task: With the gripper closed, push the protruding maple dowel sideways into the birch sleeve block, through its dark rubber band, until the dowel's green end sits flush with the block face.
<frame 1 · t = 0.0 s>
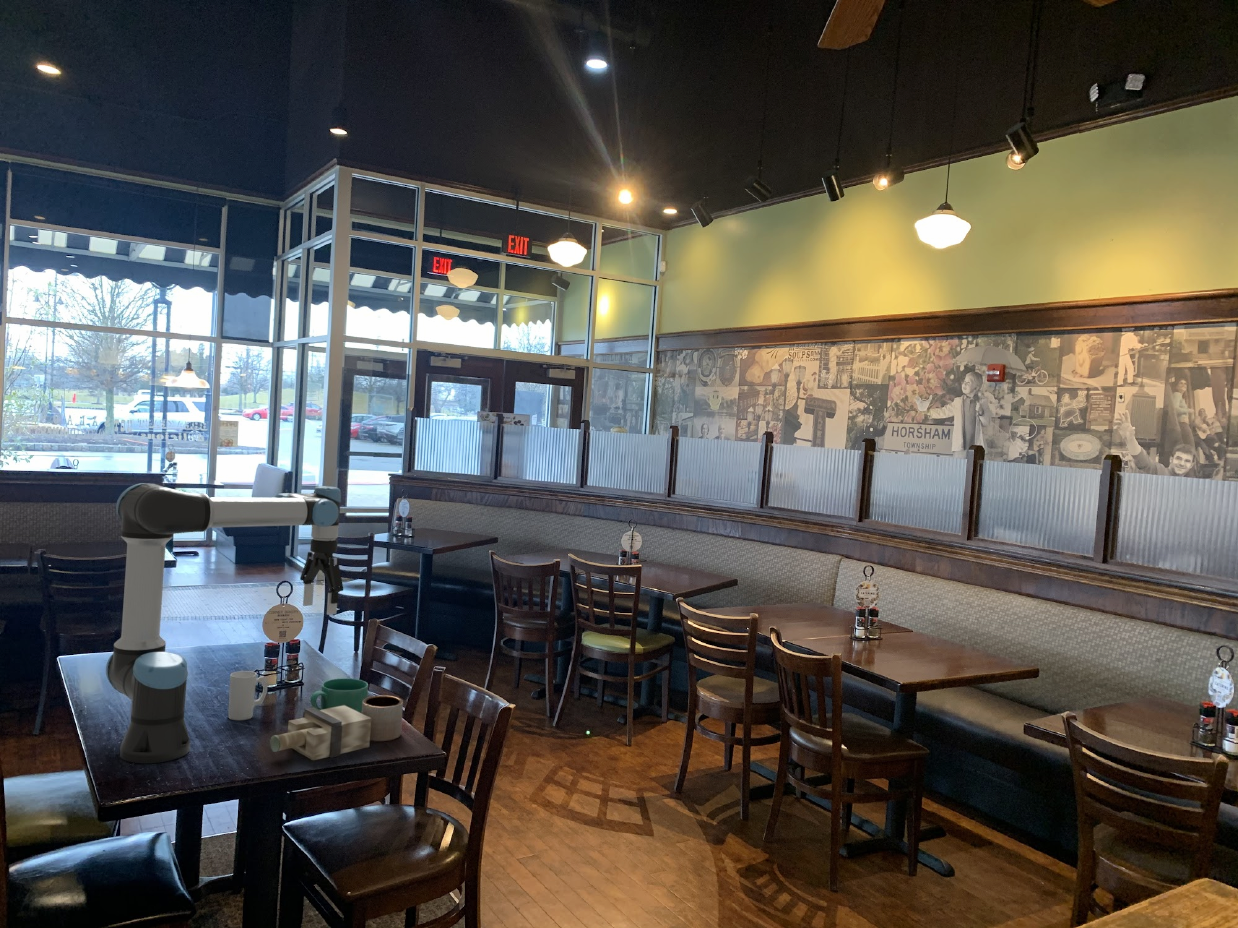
hand: (319, 609, 258), 28 cm above the table, fingers open, 13 cm apart
mug 2: (336, 718, 248), on the table
planter: (380, 736, 237), on the table
mug: (246, 716, 243), on the table
sleeve block: (328, 745, 226), on the table
dowel: (300, 737, 220), point 4 cm above the table, slide at 0.0 cm
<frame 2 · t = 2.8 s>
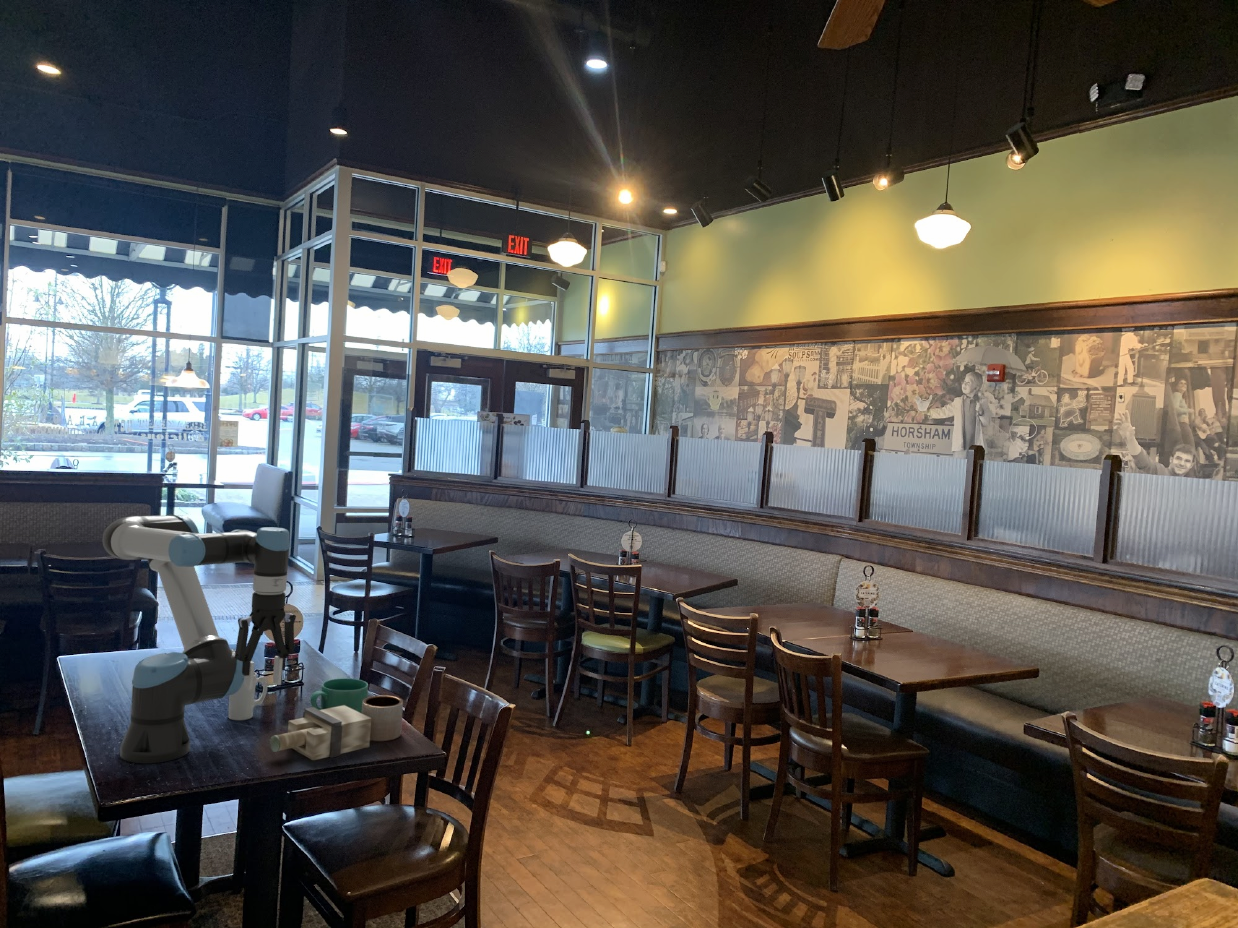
hand: (262, 685, 211), 19 cm above the table, fingers open, 6 cm apart
nothing on the table moved.
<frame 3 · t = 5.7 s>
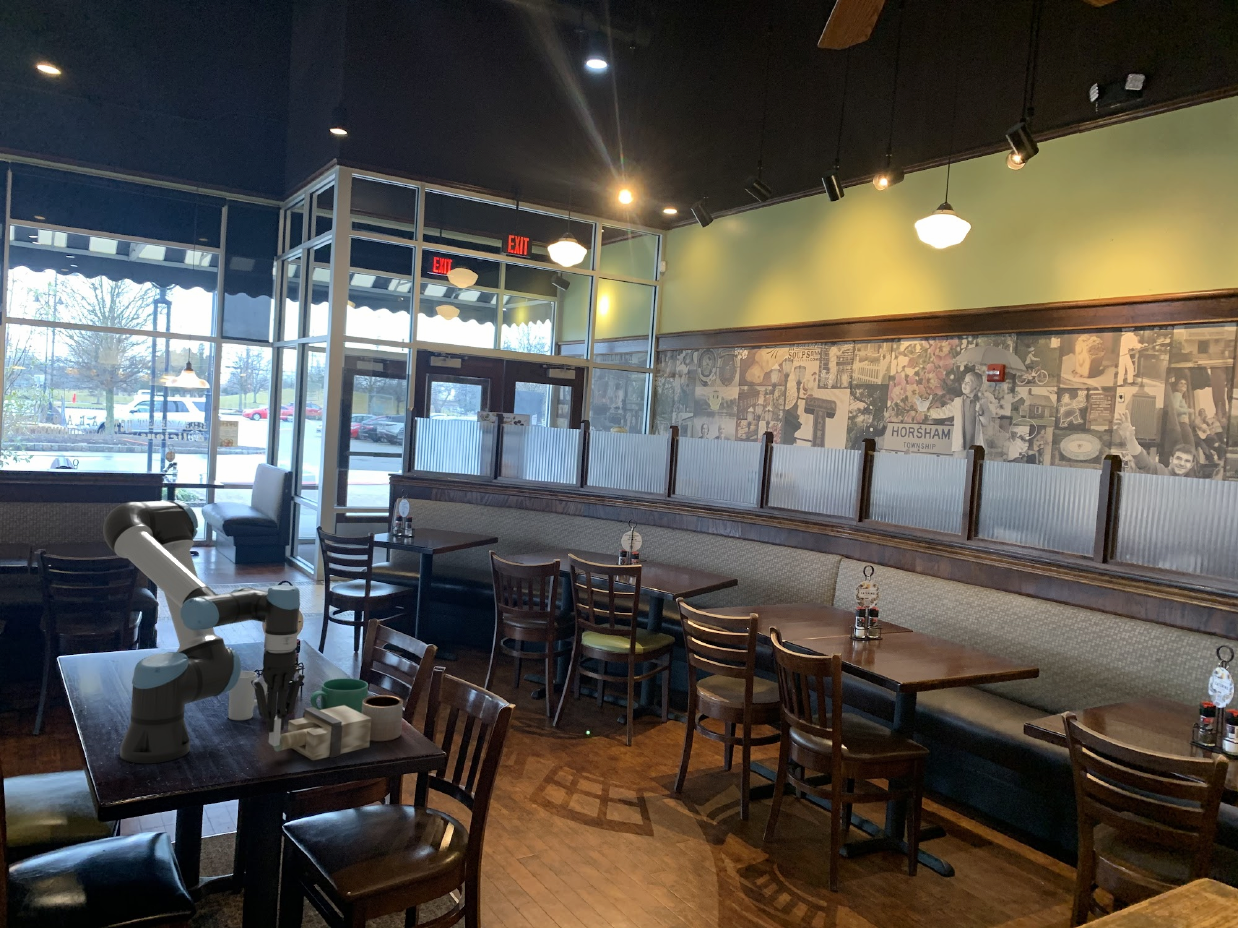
hand: (274, 743, 214), 4 cm above the table, fingers closed
dowel: (302, 737, 220), point 4 cm above the table, slide at 0.6 cm, touching gripper
everything else where it was.
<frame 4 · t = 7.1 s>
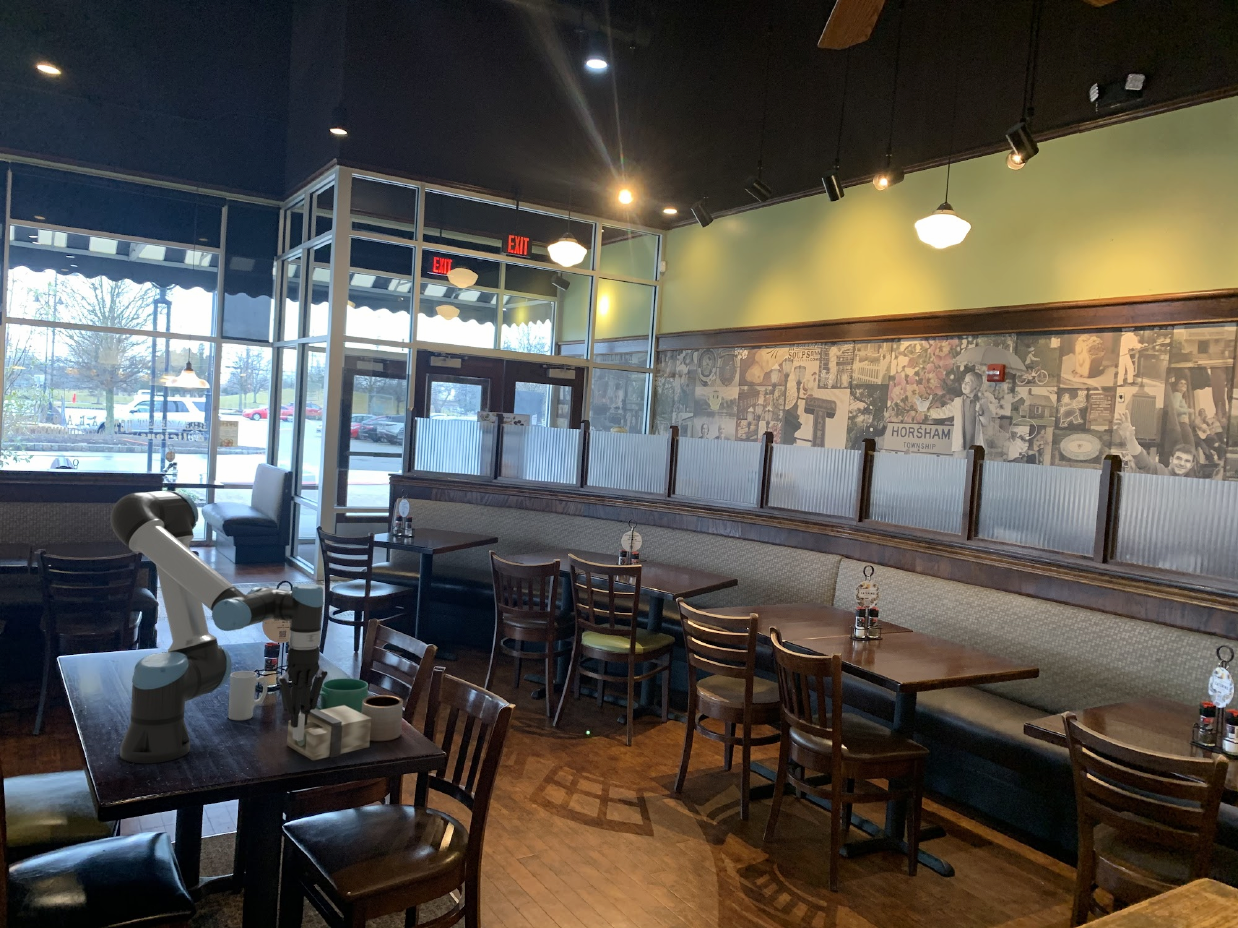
hand: (297, 738, 219), 4 cm above the table, fingers closed
dowel: (325, 732, 225), point 4 cm above the table, slide at 7.0 cm, touching gripper
everything else where it was.
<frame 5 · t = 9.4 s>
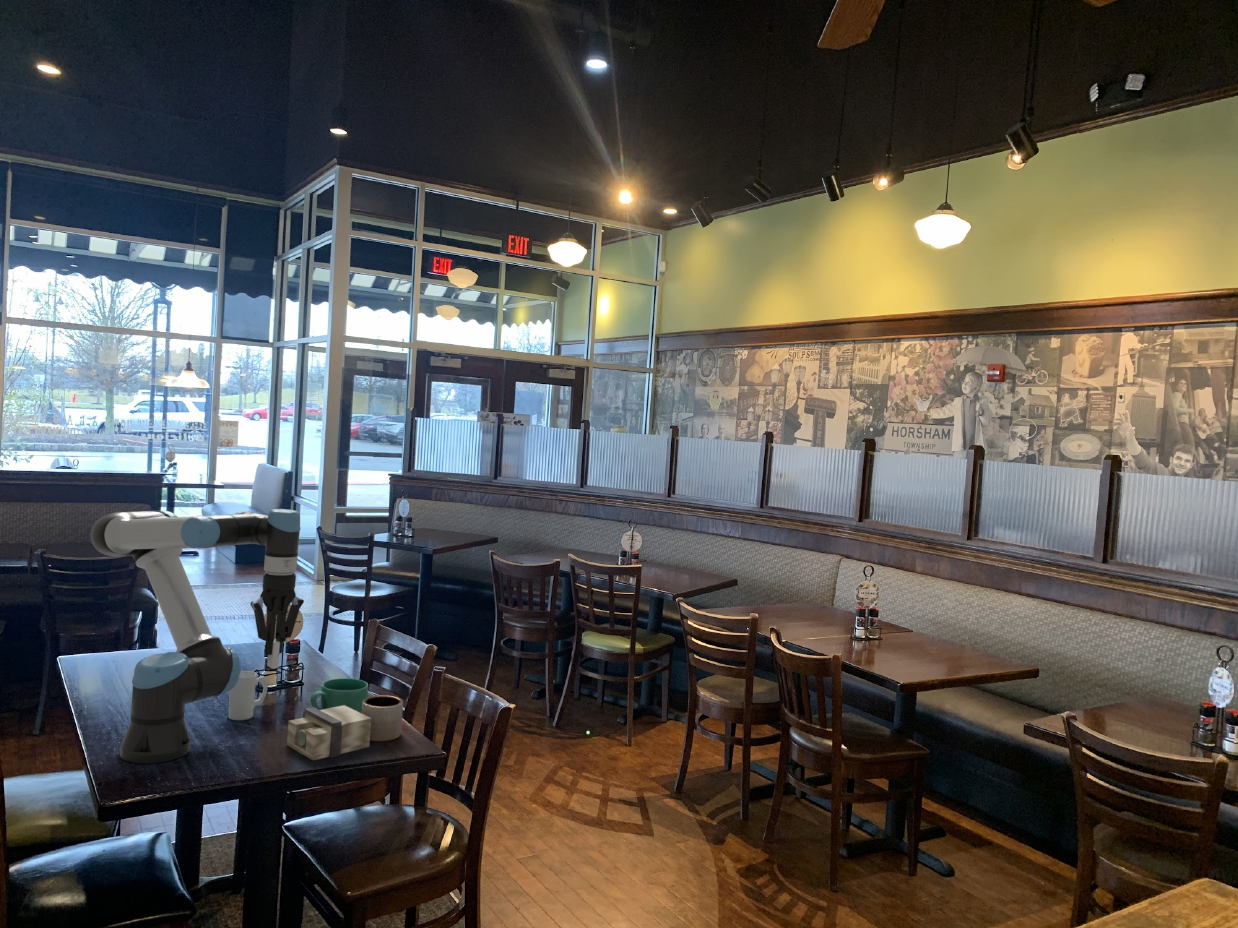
hand: (272, 666, 215), 23 cm above the table, fingers closed
dowel: (325, 732, 225), point 4 cm above the table, slide at 7.0 cm
everything else where it was.
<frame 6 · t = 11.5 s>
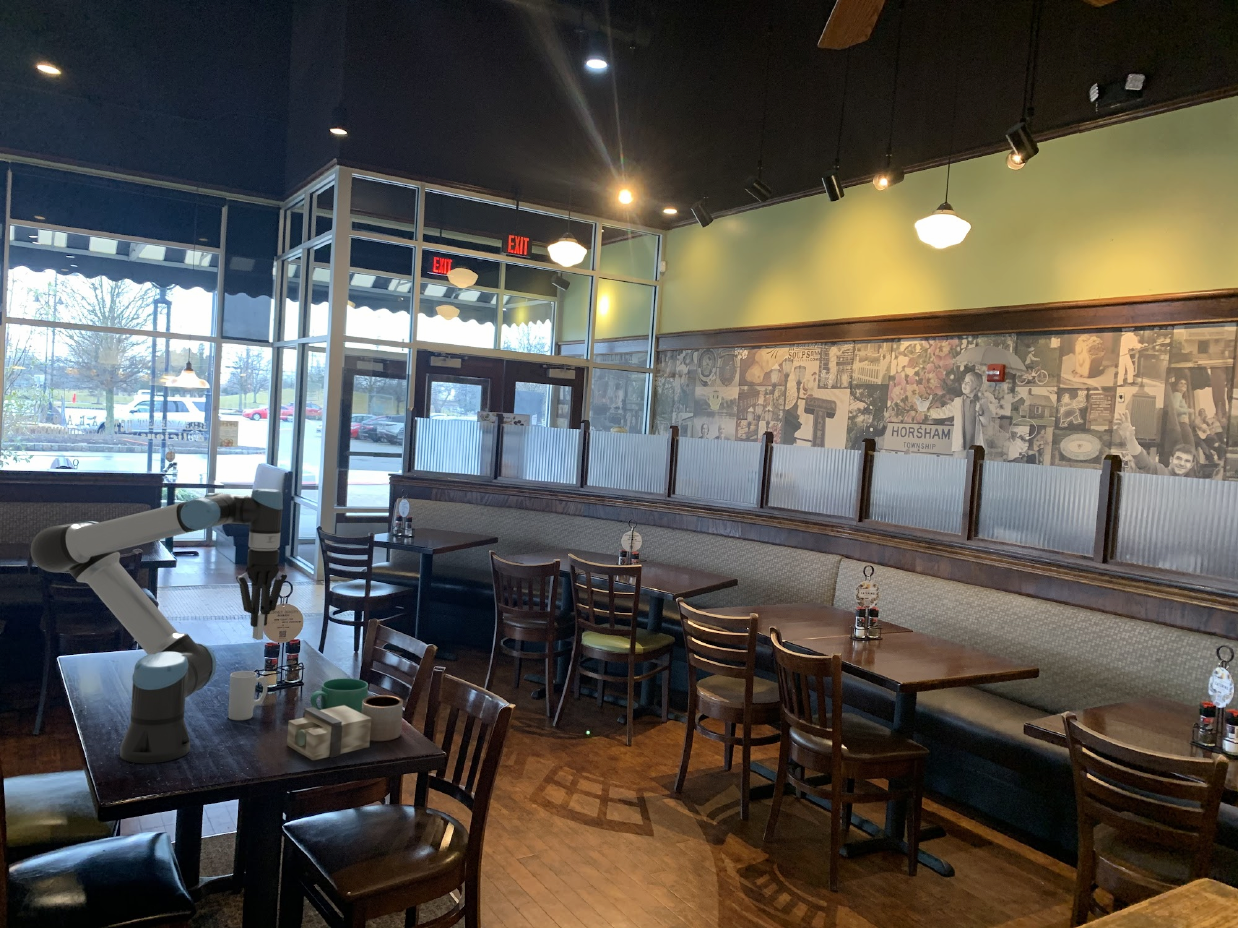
hand: (257, 638, 226), 26 cm above the table, fingers closed
nothing on the table moved.
at the end: dowel slide at 7.0 cm; the gripper is holding nothing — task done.
